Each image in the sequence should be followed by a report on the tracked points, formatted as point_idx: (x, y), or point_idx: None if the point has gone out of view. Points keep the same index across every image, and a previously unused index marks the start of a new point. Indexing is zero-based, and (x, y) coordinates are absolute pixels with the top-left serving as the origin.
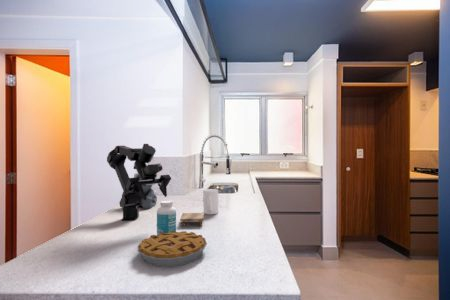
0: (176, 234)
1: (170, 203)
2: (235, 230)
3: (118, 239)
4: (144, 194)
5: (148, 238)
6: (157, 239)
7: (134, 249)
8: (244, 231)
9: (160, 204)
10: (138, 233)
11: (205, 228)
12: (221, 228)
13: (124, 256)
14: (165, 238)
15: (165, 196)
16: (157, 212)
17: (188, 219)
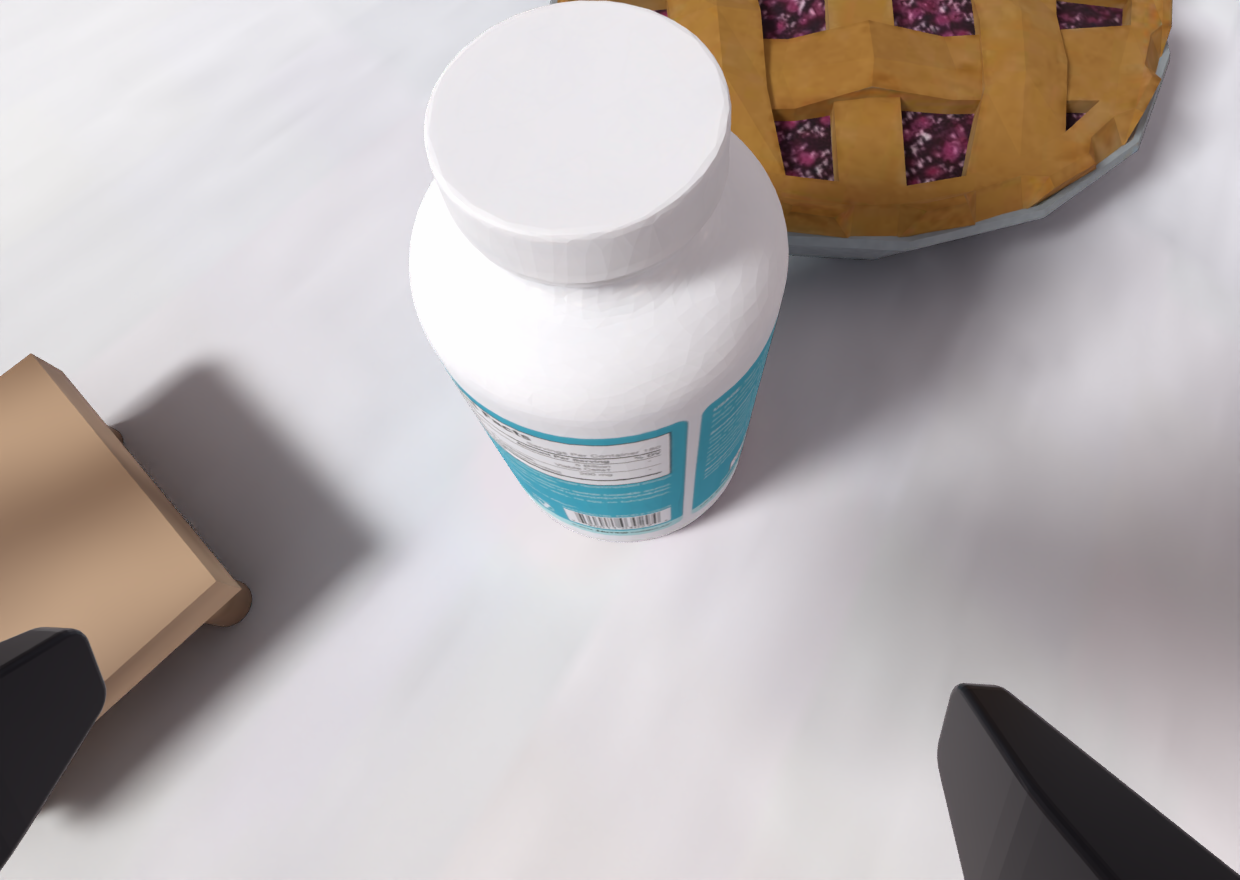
0: (749, 28)
1: (564, 20)
2: (73, 105)
3: (1182, 790)
4: (1125, 833)
5: (1008, 175)
6: (957, 66)
7: (1081, 336)
8: (62, 45)
9: (724, 180)
10: (854, 818)
11: (163, 334)
12: (79, 223)
13: (1209, 256)
14: (893, 17)
15: (97, 676)
16: (785, 281)
17: (150, 494)
